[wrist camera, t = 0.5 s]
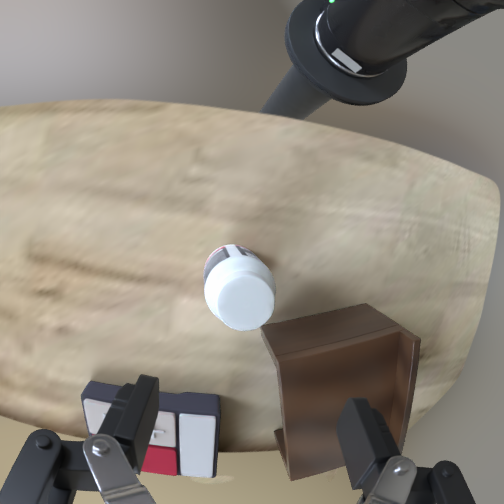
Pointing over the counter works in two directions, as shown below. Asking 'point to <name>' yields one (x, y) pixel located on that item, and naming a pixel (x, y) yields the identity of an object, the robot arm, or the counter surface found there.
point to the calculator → (169, 430)
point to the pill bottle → (239, 288)
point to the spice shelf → (338, 380)
